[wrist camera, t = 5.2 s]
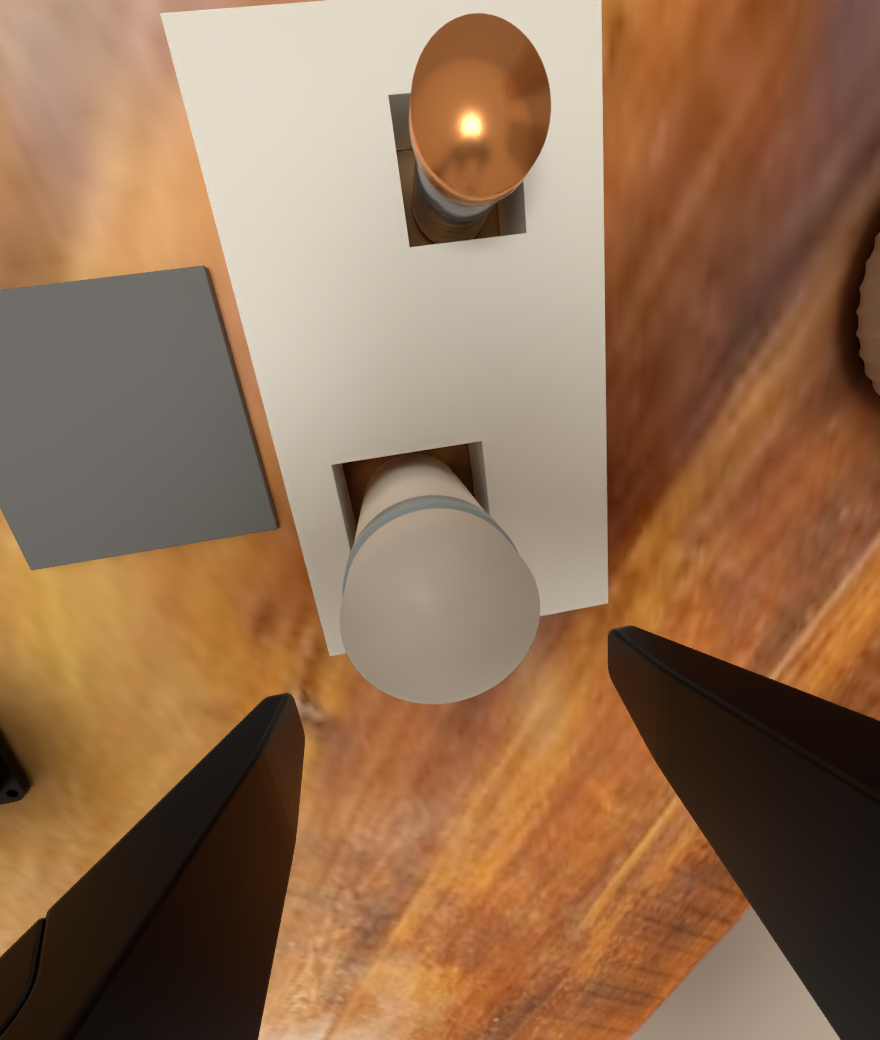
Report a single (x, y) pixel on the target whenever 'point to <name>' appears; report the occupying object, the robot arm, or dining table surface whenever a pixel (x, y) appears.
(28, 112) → the dining table surface
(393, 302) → the housing
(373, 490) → the cylinder
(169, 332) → the mat
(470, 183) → the copper capped cylinder
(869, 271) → the canister
